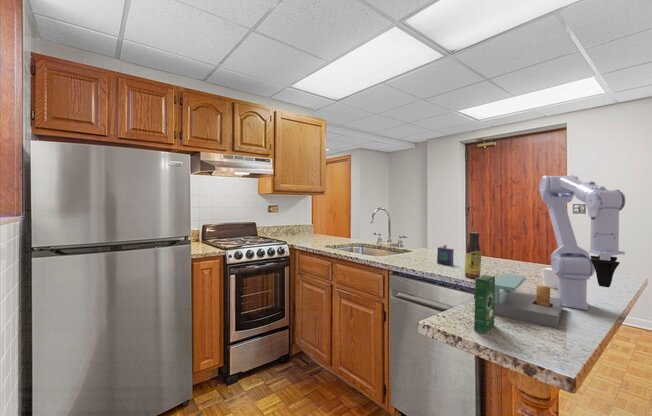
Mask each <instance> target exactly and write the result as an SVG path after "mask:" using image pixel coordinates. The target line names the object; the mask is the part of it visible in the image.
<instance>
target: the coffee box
mask: <svg viewBox="0 0 652 416" xmlns="http://www.w3.org/2000/svg"><path fill="white" fill-rule="evenodd" d="M474 279H475V281H474V282H475V284H474V285H475V286H474V316H473V317H474V320H473V321H474V322H473V330H474V331H475V332H477V333H483V334H484V333H485V334H486V333H487V332H488V331H489V330H490V329H491V328H492V327H493V326H494V325H495V314H494V311H495V279H496V275H491V274H483V275H480V277H478V278H474Z"/></svg>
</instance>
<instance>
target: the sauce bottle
mask: <svg viewBox="0 0 652 416" xmlns="http://www.w3.org/2000/svg"><path fill="white" fill-rule="evenodd" d="M468 234H469V235H468V236H469V240H468V241H469V242H468V244H466V248H465V261H464V262H465V265H464V275H465V278H466V277H467V278H470V279H476V278H478V277H480V276H481V268H482V267H481V265H482V249H481V246H480V242H479V241H480V233H479V232H475V231H474V232H473V231H471V232H470V231H469V233H468Z"/></svg>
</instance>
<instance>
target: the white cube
mask: <svg viewBox="0 0 652 416" xmlns="http://www.w3.org/2000/svg"><path fill="white" fill-rule="evenodd" d="M541 276H542V286H547V287H550V289H556V290H558V276H557V275H556V274H555V273H554V272H553V270H552V267H542V268H541Z"/></svg>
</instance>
